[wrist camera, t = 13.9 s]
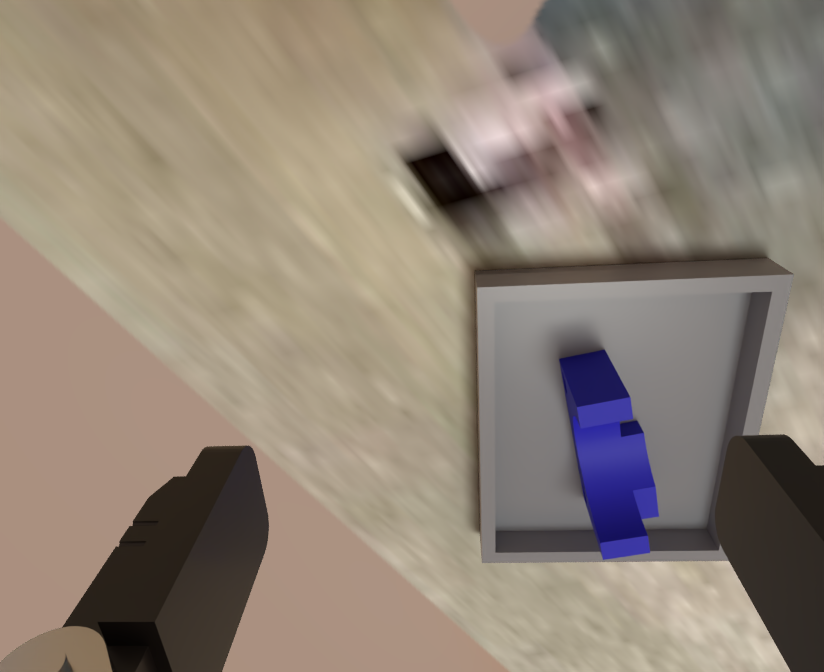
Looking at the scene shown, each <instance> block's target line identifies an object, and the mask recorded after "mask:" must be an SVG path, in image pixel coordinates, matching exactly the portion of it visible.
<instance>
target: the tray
mask: <svg viewBox="0 0 824 672" xmlns="http://www.w3.org/2000/svg"><path fill="white" fill-rule="evenodd" d="M793 277H794V274H793V273H791V272H789V271H788V270H786V269H785V268H783V267H782V266H780V265H778V264H777V263H775V262H774V261H772V260H771V259H769V258H758V259H735V260H712V261H689V262H666V263H643V264H620V265H597V266H574V267H552V268H529V269H506V270H483V271H475V306H476V358H477V409H478V460H479V511H480V541H481V555H482V563H527V562H646V561H729V560H728V558H727V556H726V554H725V553H724V551H723V549H722V547H721V544H720V542H719V539H718V535H717V531H716V525H715V507H716V502H717V497H718V492H719V487H720V481H721V476H722V471H723V466H724V461H725V456H726V451H727V446H728V443H729V441H730V440H731V438H732V437H734V436H743V435H759V431H760V426H761V422H762V417H763V413H764V408H765V404H766V399H767V395H768V390H769V385H770V381H771V376H772V372H773V367H774V363H775V358H776V354H777V349H778V345H779V340H780V336H781V331H782V326H783V322H784V317H785V313H786V308H787V304H788V299H789V295H790V290H791V286H792V281H793ZM600 350H605V351H606V353H607V354H608V356H609V358H610V360H611V362H612V364H613V366H614V367H615V369H616V371H617V373H618V375H619V377H620V379H621V380H622V382H623V384H624V386H625V388H626V390H627V392H628V394H629V395H630V397H631V405H632V413H633V419H631V420H625V421H620V424H622V423H627V422H633V421H638V422H639V424H640V426H641V428H642V430H643V432H644V436H645V443H646V449H647V454H648V459H649V463H650V467H651V471H652V475H653V479H654V483H655V486H656V494H657V503H658V512H659V517H653V518H647V519H642V521H643V524H644V527H645V529H646V532H647V534H648V540H649V548H650V553H646V554H640V555H633V556H626V557H619V558H613V559H606V560H603V558H602V555H601V552H600V549H599V545H598V542H597V539H596V536H595V533H594V529H593V526H592V523H591V520H590V517H589V513H588V510H587V507H586V504H585V500H584V496H583V491H582V485H581V480H580V474H579V468H578V463H577V457H576V452H575V446H574V441H573V435H572V429H571V424H570V418H569V413H568V407H567V401H566V396H565V390H564V385H563V379H562V373H561V368H560V362H559V359H561V358H566V357H571V356H575V355H580V354H585V353H590V352H595V351H600Z"/></svg>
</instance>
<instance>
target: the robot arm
mask: <svg viewBox="0 0 824 672" xmlns="http://www.w3.org/2000/svg"><path fill="white" fill-rule="evenodd" d="M715 525H716V531H717V535H718V539H719V542H720V544H721V547H722V549H723V551H724V553H725V554H726V556H727V558H728V560H729V562H730V563H731V565H732V567H733V569H734V571H735V572H736V574H737V576H738V578H739V579H740V581H741V583H742V585H743V587H744V588H745V590H746V592H747V594H748V596H749V597H750V599H751V601H752V603H753V605H754V606H755V608H756V610H757V612H758V613H759V615H760V617H761V619H762V621H763V622H764V624H765V626H766V628H767V630H768V631H769V633H770V635H771V637H772V639H773V640H774V642H775V644H776V646H777V648H778V649H779V651H780V653H781V655H782V656H783V658H784V660H785V662H786V664H787V665H788V667H789V669H790V671H791V672H824V465H822V466H815V464H814V463H813V462H812V461H811V460H810V459H809V458H808V457H807V456H806V454H805V453H804V452H803V451H802V450H801V449H800V448H799V447H798V446H797V444H796V443H795V442H794V441H793V440H792V439H791V438H790V437H788V436H787V435H743V436H734V437H732V438H731V440H730V441H729V443H728V446H727V451H726V456H725V461H724V466H723V471H722V476H721V481H720V487H719V492H718V497H717V502H716V507H715ZM268 531H269V522H268V513H267V508H266V503H265V499H264V494H263V489H262V485H261V480H260V475H259V471H258V466H257V461H256V457H255V453H254V451H253V449H252V448H251V447H250V446H214V447H205V448H204V449H203V450H202V451H201V453H200V455H199V456H198V458H197V459H196V461H195V463H194V464H193V466H192V467H191V469H190V471H189V472H188V474H187V476H186V477H173V478H172V479H171V480H169V481H168V482H167V483H166V484H165V485H163V486H162V487H161V488H160V489H158V490H157V491H156V492H155V493H154V494H153V495H151V496H150V497H149V498H148V499H147V501H146V502H145V504H144V505H143V507H142V508H141V510H140V511H139V513H138V514H137V516H136V517H135V519H134V520H133V526H129V528H128V529H127V531H126V532H125V534H124V535H123V537H122V538H121V540H120V544H119V547H115V549H114V550H113V552H112V553H111V555H110V556H109V558H108V560H107V561H106V562H105V564H104V565H103V567H102V569H101V570H100V572H99V573H98V574H97V576H96V578H95V579H94V581H93V582H92V584H91V585H90V587H89V588H88V589H87V591H86V593H85V594H84V596H83V597H82V598H81V600H80V601H79V603H78V605H77V606H76V607H75V609H74V610H73V612H72V614H71V615H70V617H69V618H68V620H67V621H66V623H65V624H64V625H63V627H62V628H59V629H55V630H51V631H48V632H46V633H43V634H41V635H39V636H37V637H35V638H33V639H31V640H29V641H27V642H26V643H24V644H22V645H21V646H19V647H18V648H16V649H15V650H14V651H13V652H11V653H10V654H9V655H7V656H6V657H5V658H4V659H3V660H2V661H1V662H0V672H222V670H223V667H224V664H225V661H226V658H227V656H228V653H229V650H230V648H231V645H232V642H233V639H234V637H235V634H236V631H237V628H238V625H239V623H240V620H241V617H242V614H243V612H244V609H245V606H246V603H247V600H248V598H249V595H250V592H251V589H252V586H253V584H254V581H255V578H256V575H257V573H258V570H259V567H260V564H261V562H262V559H263V556H264V553H265V550H266V546H267V541H268Z"/></svg>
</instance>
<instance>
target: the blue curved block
mask: <svg viewBox="0 0 824 672" xmlns="http://www.w3.org/2000/svg"><path fill="white" fill-rule="evenodd" d="M559 362H560V368H561V373H562V379H563V385H564V390H565V396H566V401H567V407H568V413H569V418H570V424H571V429H572V435H573V441H574V446H575V452H576V457H577V463H578V468H579V474H580V480H581V485H582V491H583V496H584V500H585V504H586V507H587V510H588V513H589V517H590V520H591V523H592V526H593V529H594V533H595V536H596V539H597V542H598V545H599V549H600V552H601V555H602V558H603V560H606V559H613V558H619V557H626V556H633V555H640V554H646V553H650V548H649V540H648V534H647V532H646V529H645V527H644V524H643V521H642V519H647V518H653V517H659V512H658V503H657V494H656V486H655V483H654V479H653V475H652V471H651V467H650V463H649V459H648V454H647V449H646V443H645V436H644V432H643V430H642V428H641V426H640V424H639V422H638V421H633V422H627V423H622V424H620V421H625V420H631V419H633V413H632V405H631V397H630V395H629V394H628V392H627V390H626V388H625V386H624V384H623V382H622V380H621V379H620V377H619V375H618V373H617V371H616V369H615V367H614V366H613V364H612V362H611V360H610V358H609V356H608V354H607V353H606V351H605V350H600V351H595V352H590V353H585V354H580V355H575V356H571V357H566V358H561V359H559Z"/></svg>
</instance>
